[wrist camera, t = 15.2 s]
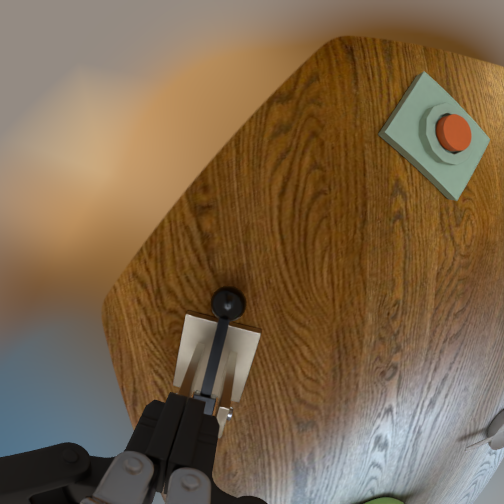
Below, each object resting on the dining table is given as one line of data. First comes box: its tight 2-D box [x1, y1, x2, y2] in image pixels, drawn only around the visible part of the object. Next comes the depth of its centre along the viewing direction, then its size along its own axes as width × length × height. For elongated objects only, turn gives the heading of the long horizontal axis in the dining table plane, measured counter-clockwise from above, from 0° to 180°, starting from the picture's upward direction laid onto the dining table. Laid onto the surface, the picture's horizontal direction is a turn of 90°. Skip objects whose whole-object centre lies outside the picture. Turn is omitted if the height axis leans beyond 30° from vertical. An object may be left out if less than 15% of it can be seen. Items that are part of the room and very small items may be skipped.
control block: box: [378, 72, 490, 201], centre depth 30 cm, size 12×10×4 cm
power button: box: [436, 114, 472, 151], centre depth 28 cm, size 4×4×2 cm
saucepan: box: [465, 410, 504, 452], centre depth 40 cm, size 11×18×4 cm, turn 93°
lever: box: [193, 286, 246, 415], centre depth 31 cm, size 14×4×4 cm, turn 166°
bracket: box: [173, 310, 261, 438], centre depth 33 cm, size 11×9×12 cm
